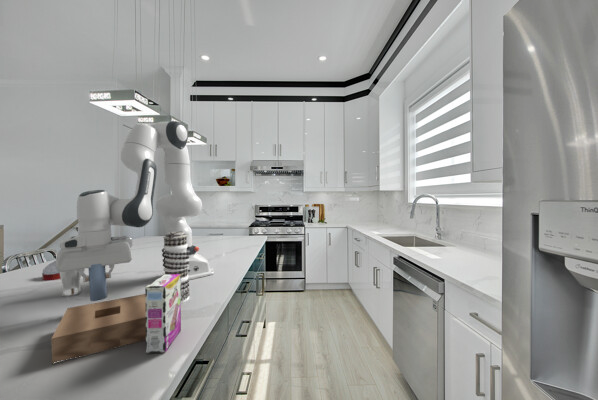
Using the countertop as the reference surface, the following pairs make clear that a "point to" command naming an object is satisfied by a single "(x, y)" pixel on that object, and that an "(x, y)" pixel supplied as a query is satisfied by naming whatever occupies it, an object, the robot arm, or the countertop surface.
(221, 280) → the countertop surface
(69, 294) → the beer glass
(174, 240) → the decorative candle
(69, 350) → the socket block
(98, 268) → the peg
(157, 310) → the candy bar box
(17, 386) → the countertop surface
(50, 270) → the red base snow globe
